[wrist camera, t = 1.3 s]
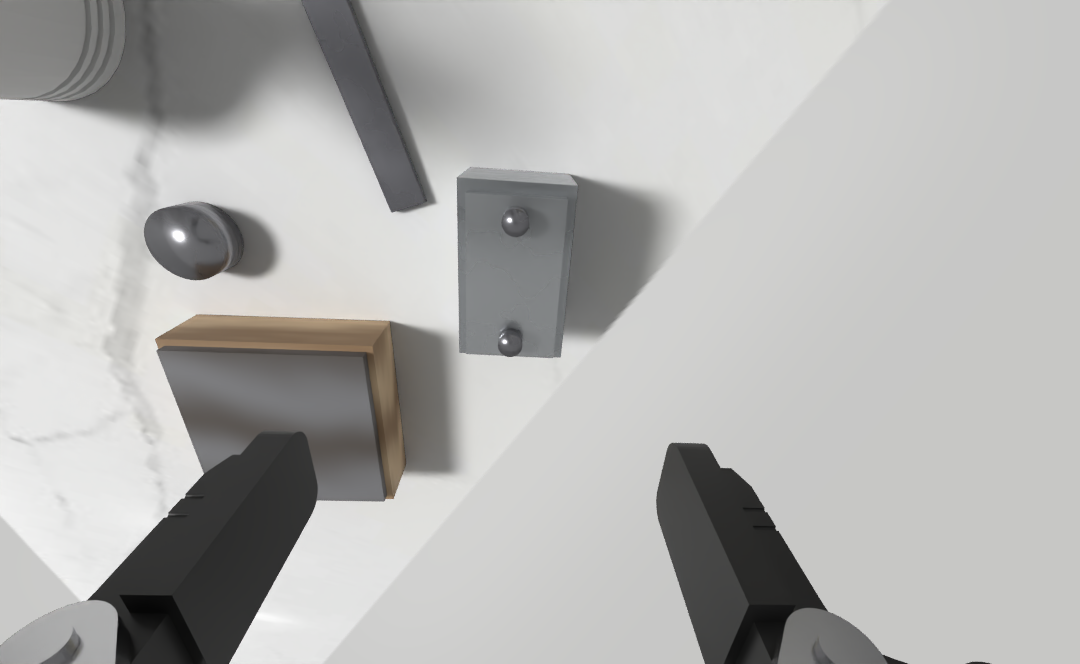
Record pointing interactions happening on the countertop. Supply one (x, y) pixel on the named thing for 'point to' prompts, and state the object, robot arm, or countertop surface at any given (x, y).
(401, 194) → the bar
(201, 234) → the dark grey domed cap
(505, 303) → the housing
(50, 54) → the engine component
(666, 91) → the countertop surface
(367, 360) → the stand
